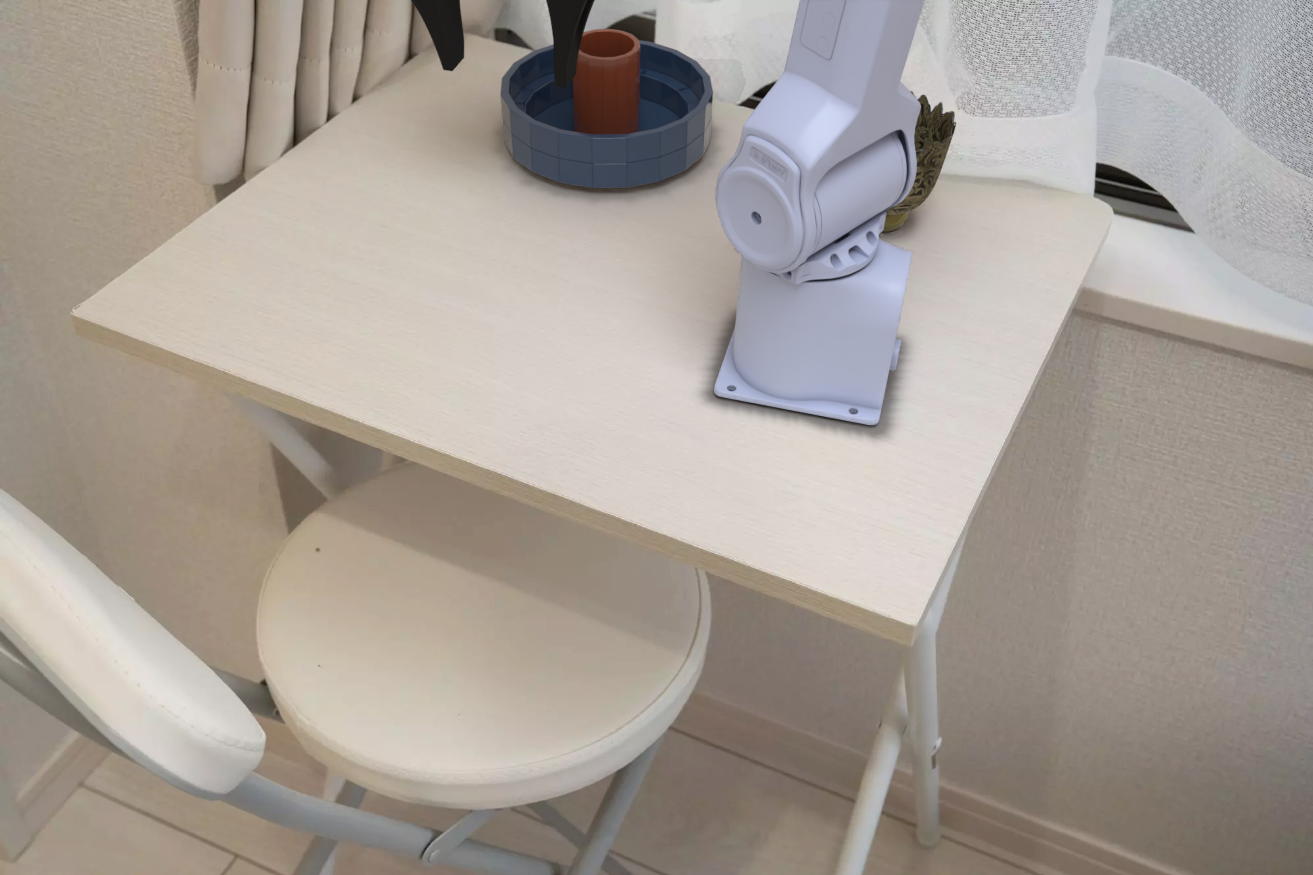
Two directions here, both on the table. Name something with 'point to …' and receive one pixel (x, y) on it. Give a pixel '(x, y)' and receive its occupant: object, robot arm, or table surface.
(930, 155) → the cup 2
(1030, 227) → the table surface
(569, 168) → the bowl
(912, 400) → the table surface
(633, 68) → the cup
